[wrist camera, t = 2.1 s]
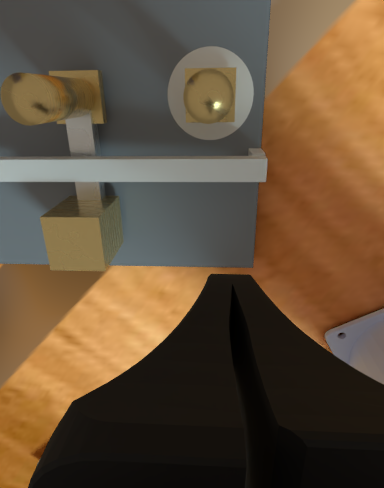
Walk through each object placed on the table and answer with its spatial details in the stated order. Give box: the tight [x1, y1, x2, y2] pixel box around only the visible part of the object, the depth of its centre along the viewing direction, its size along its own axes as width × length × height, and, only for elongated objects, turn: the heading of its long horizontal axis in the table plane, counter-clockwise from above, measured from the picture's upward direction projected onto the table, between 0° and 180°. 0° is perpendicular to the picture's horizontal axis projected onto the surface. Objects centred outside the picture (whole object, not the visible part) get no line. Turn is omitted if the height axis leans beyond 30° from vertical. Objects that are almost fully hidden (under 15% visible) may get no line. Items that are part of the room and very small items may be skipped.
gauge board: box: [0, 0, 271, 268], centre depth 17 cm, size 20×13×4 cm, turn 91°
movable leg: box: [0, 70, 124, 271], centre depth 15 cm, size 3×8×5 cm, turn 1°
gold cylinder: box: [183, 67, 236, 124], centre depth 13 cm, size 2×2×5 cm
